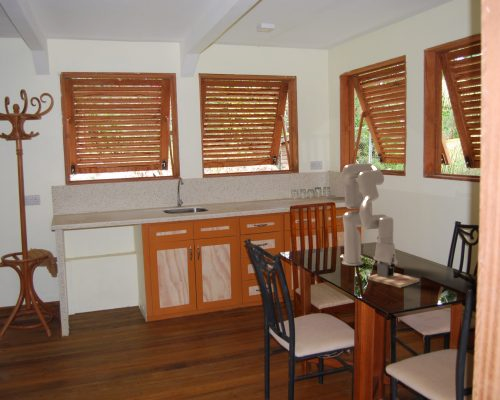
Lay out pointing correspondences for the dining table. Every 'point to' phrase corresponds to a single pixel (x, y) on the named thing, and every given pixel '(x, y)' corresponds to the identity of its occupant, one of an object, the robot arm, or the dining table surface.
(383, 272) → the gray cube
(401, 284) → the board
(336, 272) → the dining table surface
